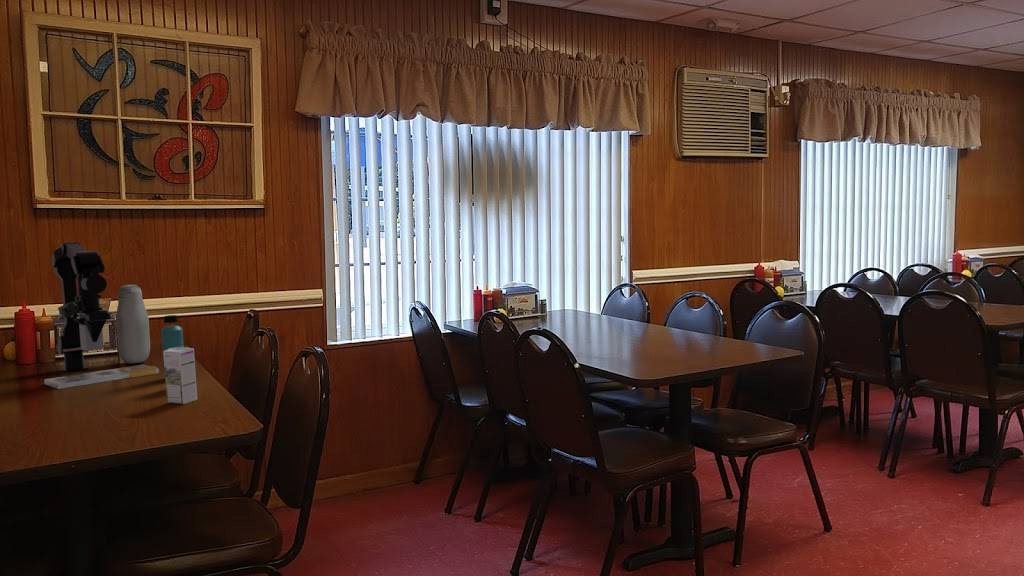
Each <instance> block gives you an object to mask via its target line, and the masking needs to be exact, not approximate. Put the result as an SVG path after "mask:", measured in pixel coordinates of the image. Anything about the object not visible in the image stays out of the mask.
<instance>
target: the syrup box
mask: <svg viewBox="0 0 1024 576" xmlns="http://www.w3.org/2000/svg"><path fill="white" fill-rule="evenodd" d="M163 356H164V362H163V366H164V368H163V370H164V369H165V374H164V380H165V393H166V395H165V396H166V404H175V405H176V404H177V405H185V404H190V403H193V402H195V401H197V400H198V390H197V389H198V388H197V377H196V375H197V374H196V373H197V372H196V360H195V358H196V357H195V349H194V347H193V348H192V347H191V348H190V347H189V348H172V349H168V350H165V351H163V350H162V357H163ZM192 401H193V402H192Z"/></svg>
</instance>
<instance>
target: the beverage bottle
mask: <svg viewBox="0 0 1024 576" xmlns="http://www.w3.org/2000/svg"><path fill="white" fill-rule="evenodd" d="M178 322H179V316H178V315H174V314H172V315H171V314H169V315H165V316H164V317H163V323H164V324H171V323H172V324H173V323H178ZM160 332H161V349H162V352H163V351H165V350H168V349H169V348H174V347H185V346H184V336H183V335H184V334H183V333H184V331H183V328H182V327H181V326H180V325H176V324H175V325H166V326H164V327H163V328H161V330H160ZM162 359H163V360H162V361H163V362H162V363H164V356H163V355H162ZM163 372H164V373H163V374H164V375H165V369H164V365H163Z"/></svg>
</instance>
